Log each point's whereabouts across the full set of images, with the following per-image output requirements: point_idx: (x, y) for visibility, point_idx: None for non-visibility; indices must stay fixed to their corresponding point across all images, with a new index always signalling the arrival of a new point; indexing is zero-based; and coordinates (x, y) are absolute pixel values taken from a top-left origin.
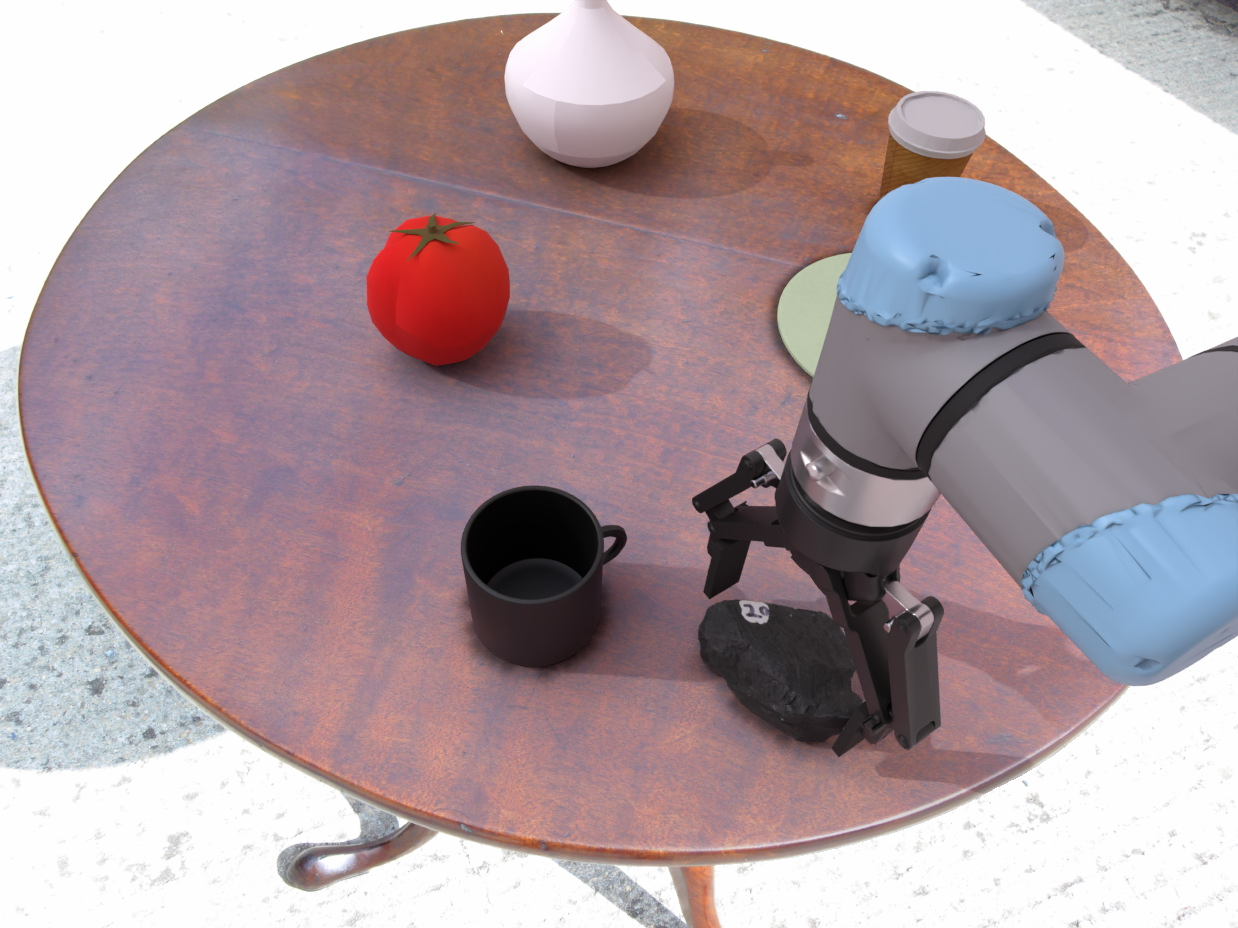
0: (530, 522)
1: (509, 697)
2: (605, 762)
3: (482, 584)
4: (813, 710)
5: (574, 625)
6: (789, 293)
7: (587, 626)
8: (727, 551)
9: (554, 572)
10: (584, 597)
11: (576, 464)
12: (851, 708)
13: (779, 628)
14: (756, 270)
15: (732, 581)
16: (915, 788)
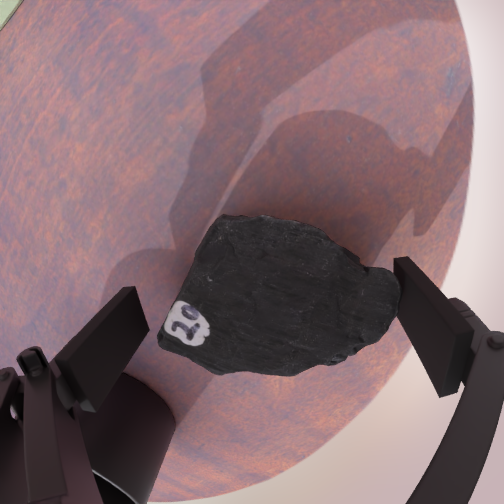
0: None
1: (192, 446)
2: (269, 429)
3: None
4: (361, 344)
5: (154, 452)
6: None
7: (153, 425)
8: (96, 394)
9: None
10: (136, 474)
11: (9, 310)
12: (390, 298)
13: (226, 316)
14: None
15: (133, 305)
16: (451, 209)
